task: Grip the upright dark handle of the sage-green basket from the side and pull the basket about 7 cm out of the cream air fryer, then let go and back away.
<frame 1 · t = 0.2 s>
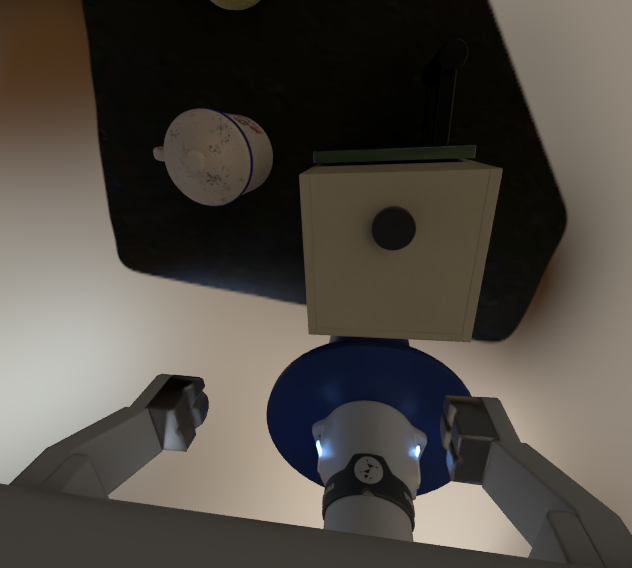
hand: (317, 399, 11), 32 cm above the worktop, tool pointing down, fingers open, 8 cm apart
enamel mug with lid: (228, 153, 40), on the worktop
air fryer: (383, 217, 40), on the worktop
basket: (387, 183, 33), point 6 cm above the worktop, slide at 0.0 cm
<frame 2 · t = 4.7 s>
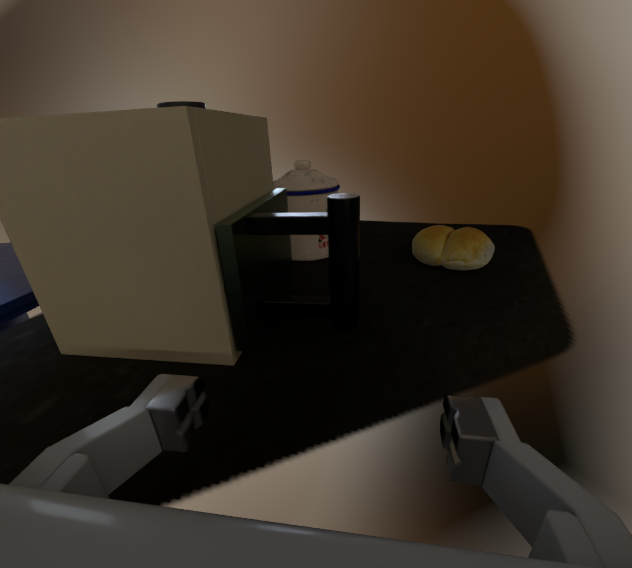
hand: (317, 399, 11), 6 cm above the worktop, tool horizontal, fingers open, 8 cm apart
enamel mug with lid: (310, 249, 46), on the worktop
bread roll: (450, 260, 39), on the worktop
air fryer: (191, 312, 30), on the worktop
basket: (231, 250, 27), point 6 cm above the worktop, slide at 0.0 cm
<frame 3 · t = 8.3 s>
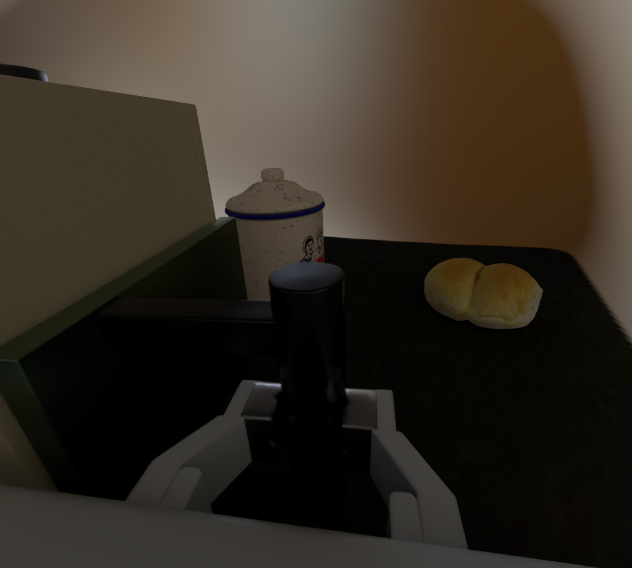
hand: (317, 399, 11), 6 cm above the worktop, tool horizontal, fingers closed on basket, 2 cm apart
enamel mug with lid: (287, 284, 35), on the worktop
bread roll: (477, 307, 28), on the worktop
air fryer: (81, 417, 19), on the worktop
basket: (128, 333, 15), point 6 cm above the worktop, slide at 0.1 cm, touching gripper
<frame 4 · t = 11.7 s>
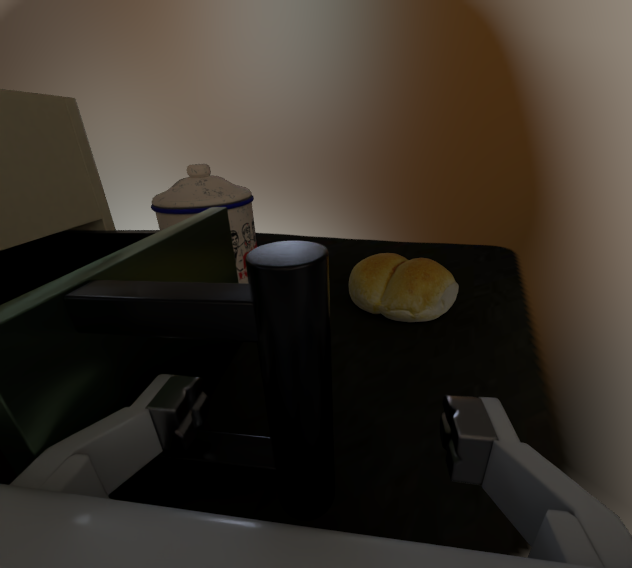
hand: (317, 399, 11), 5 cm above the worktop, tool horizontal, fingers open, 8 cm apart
enamel mug with lid: (226, 279, 35), on the worktop
bread roll: (400, 302, 29), on the worktop
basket: (112, 323, 15), point 6 cm above the worktop, slide at 6.6 cm
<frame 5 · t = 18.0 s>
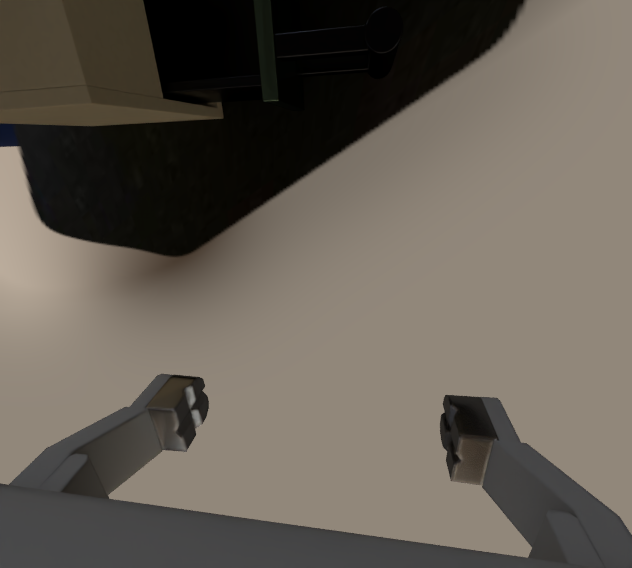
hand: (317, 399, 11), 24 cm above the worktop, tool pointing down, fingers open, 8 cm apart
air fryer: (135, 33, 28), on the worktop
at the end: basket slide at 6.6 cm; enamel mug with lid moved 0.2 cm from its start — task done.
